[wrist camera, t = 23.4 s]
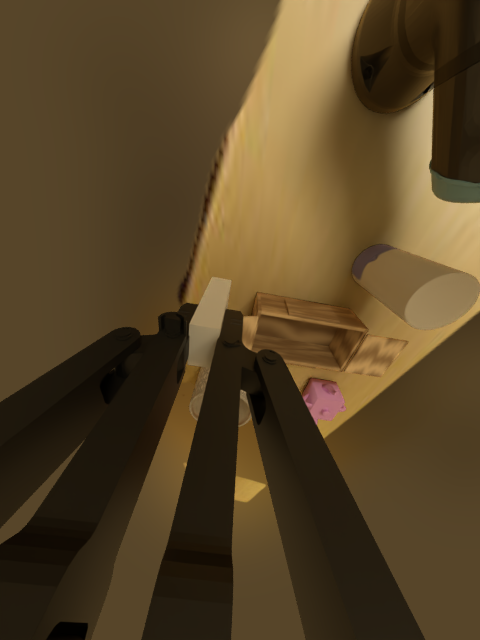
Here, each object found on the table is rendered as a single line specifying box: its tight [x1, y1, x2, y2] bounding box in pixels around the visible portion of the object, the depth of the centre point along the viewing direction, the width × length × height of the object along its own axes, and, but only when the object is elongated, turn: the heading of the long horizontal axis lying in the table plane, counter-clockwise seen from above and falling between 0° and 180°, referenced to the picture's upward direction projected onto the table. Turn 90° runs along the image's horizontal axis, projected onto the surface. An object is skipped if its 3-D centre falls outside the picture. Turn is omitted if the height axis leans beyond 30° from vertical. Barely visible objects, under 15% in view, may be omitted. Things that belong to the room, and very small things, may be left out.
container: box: [352, 244, 480, 330], centre depth 39 cm, size 10×10×20 cm
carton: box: [250, 292, 369, 372], centre depth 53 cm, size 16×26×10 cm, turn 80°
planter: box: [189, 367, 251, 427], centre depth 64 cm, size 19×19×14 cm
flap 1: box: [242, 316, 258, 350], centre depth 45 cm, size 12×1×10 cm
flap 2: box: [344, 334, 408, 377], centre depth 49 cm, size 12×1×10 cm
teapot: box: [302, 378, 346, 425], centre depth 66 cm, size 15×13×11 cm
